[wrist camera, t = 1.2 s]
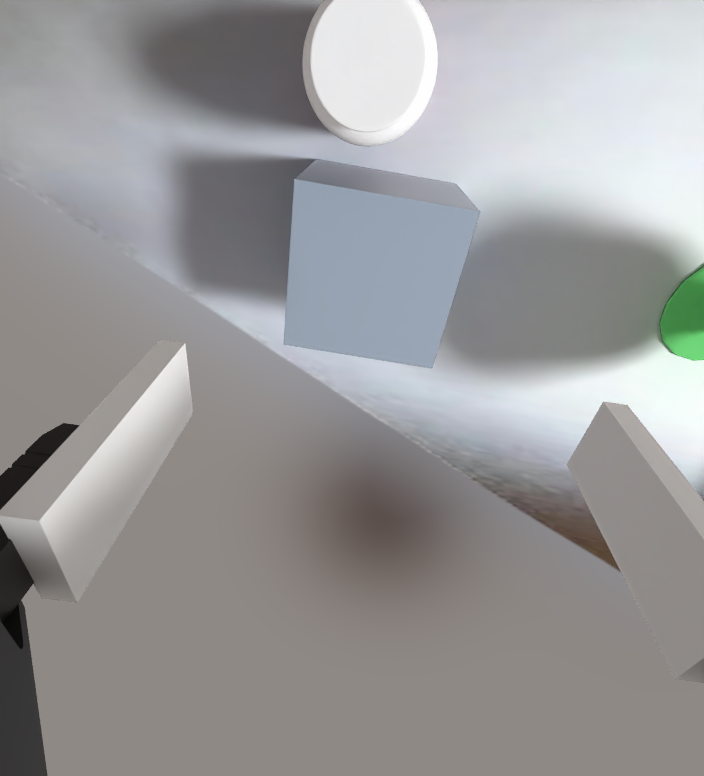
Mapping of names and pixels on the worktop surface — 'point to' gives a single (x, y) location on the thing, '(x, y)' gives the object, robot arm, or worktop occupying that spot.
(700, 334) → the cup
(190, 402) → the robot arm
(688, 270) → the worktop surface
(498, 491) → the worktop surface
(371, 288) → the pale blue block
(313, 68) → the pill bottle
